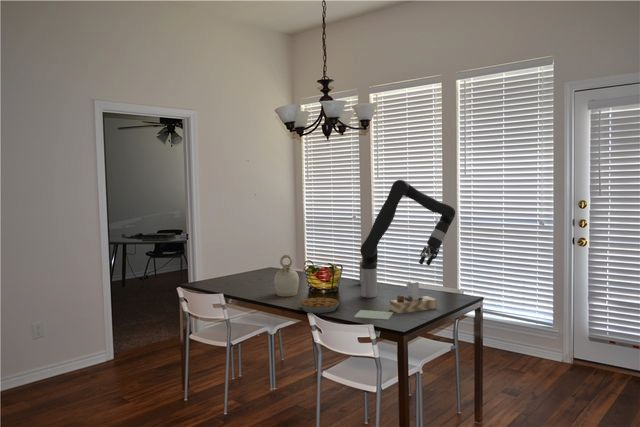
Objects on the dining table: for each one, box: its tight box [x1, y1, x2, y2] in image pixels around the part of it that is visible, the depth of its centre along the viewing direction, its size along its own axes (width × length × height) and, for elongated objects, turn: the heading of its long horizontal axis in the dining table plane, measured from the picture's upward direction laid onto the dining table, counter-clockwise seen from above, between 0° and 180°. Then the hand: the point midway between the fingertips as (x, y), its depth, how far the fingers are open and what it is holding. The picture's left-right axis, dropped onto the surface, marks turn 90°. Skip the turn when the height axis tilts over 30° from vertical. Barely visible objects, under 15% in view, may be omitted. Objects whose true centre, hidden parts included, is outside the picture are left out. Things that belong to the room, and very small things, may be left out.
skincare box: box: [359, 260, 362, 285], centre depth 344 cm, size 8×7×16 cm
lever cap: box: [407, 280, 420, 301], centre depth 276 cm, size 4×4×10 cm
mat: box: [353, 309, 394, 321], centre depth 265 cm, size 18×14×1 cm
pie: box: [299, 296, 340, 314], centre depth 281 cm, size 22×22×5 cm
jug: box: [273, 254, 300, 298], centre depth 316 cm, size 15×16×25 cm
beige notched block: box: [389, 294, 438, 314], centre depth 276 cm, size 24×9×8 cm, turn 112°
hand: (423, 264), depth 284 cm, fingers open, 8 cm apart
